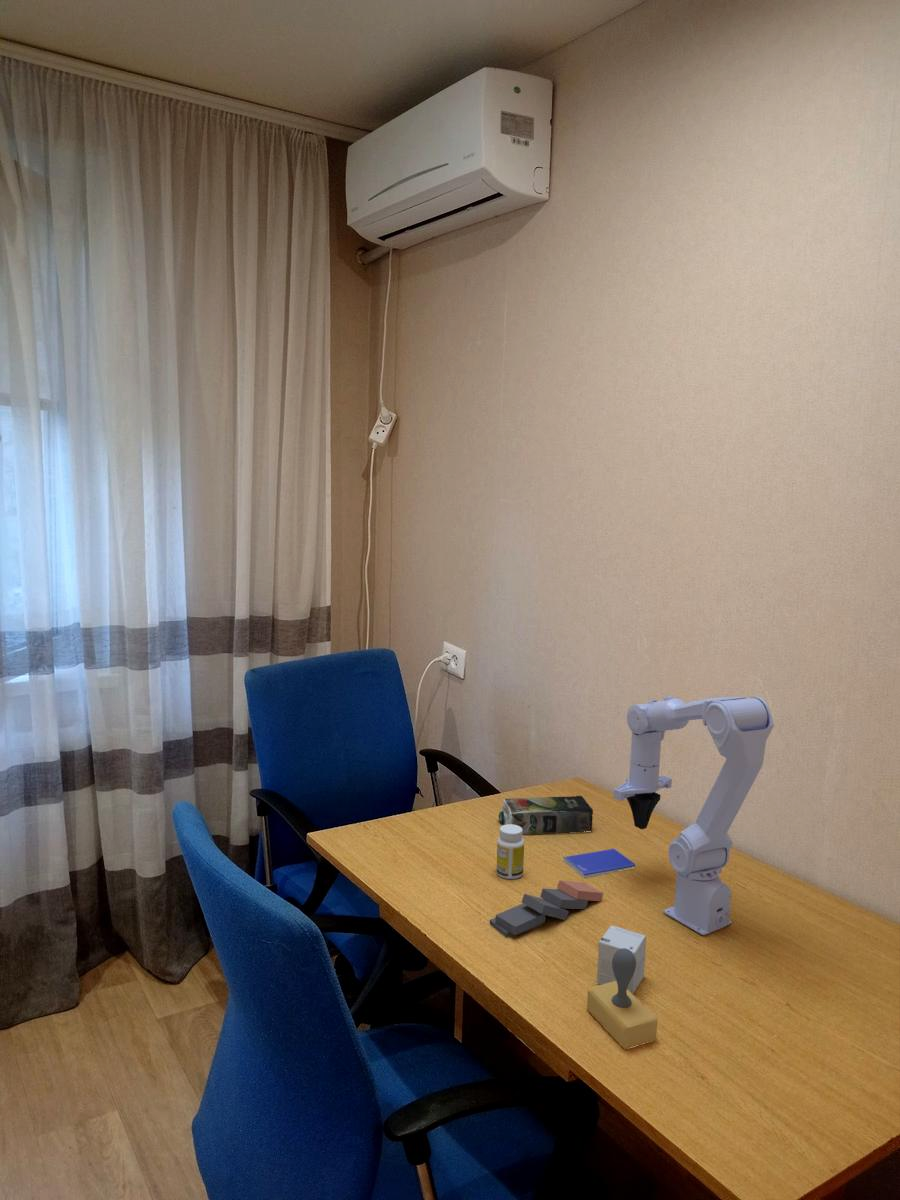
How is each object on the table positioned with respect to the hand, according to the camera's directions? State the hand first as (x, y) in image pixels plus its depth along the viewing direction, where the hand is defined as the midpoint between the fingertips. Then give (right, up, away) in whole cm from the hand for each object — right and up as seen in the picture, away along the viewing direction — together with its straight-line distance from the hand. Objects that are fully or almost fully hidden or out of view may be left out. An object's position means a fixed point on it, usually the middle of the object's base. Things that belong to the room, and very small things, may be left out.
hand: (640, 827), depth 170 cm
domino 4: (-14, -11, -10) cm, 21 cm away
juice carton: (-16, -7, +25) cm, 31 cm away
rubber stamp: (-13, -17, -45) cm, 50 cm away
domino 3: (-19, -11, -14) cm, 26 cm away
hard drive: (-7, -10, +6) cm, 14 cm away
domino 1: (-23, -11, -17) cm, 31 cm away
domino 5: (-11, -11, -7) cm, 17 cm away
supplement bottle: (-26, -10, +1) cm, 28 cm away
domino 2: (-24, -12, -17) cm, 31 cm away
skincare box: (-11, -16, -34) cm, 39 cm away
